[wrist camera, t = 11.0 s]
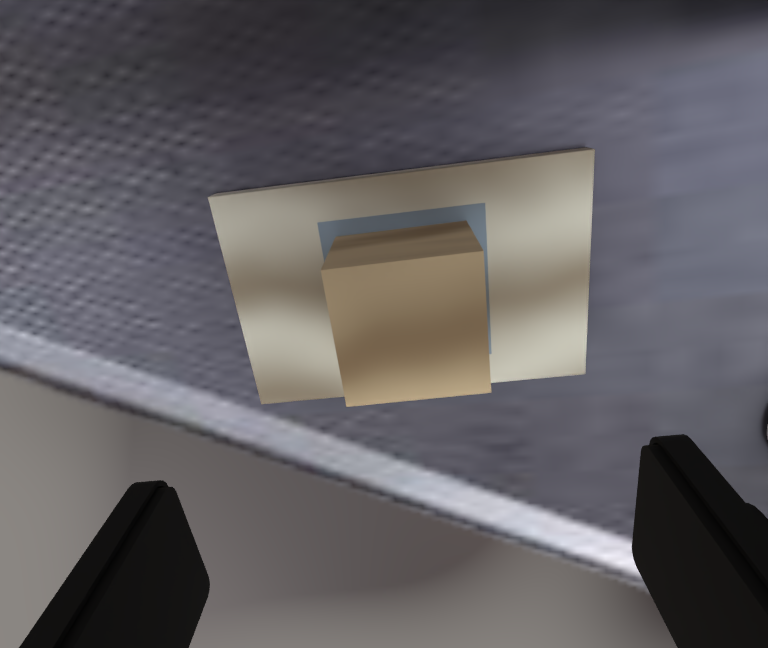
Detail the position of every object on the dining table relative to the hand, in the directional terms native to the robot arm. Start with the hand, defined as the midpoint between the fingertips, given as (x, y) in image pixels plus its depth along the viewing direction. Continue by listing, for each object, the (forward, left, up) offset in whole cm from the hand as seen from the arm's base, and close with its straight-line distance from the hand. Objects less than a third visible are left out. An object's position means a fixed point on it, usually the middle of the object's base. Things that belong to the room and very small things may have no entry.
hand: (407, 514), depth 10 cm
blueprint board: (+1, 0, -16) cm, 16 cm away
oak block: (+1, 0, -15) cm, 15 cm away
